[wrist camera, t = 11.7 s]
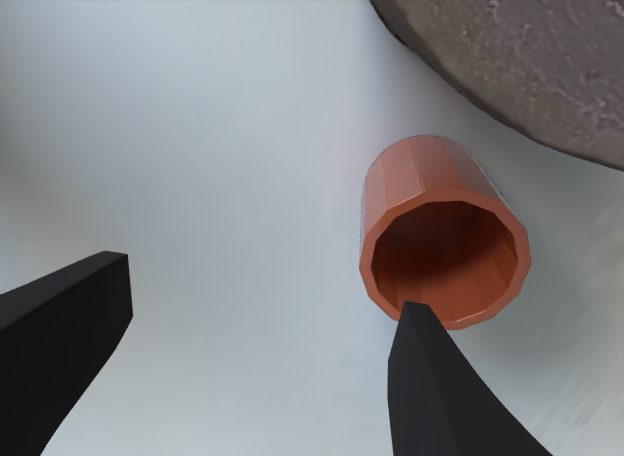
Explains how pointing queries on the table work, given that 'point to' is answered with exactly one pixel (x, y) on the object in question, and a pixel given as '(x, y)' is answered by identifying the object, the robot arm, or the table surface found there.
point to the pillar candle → (528, 65)
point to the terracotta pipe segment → (439, 234)
